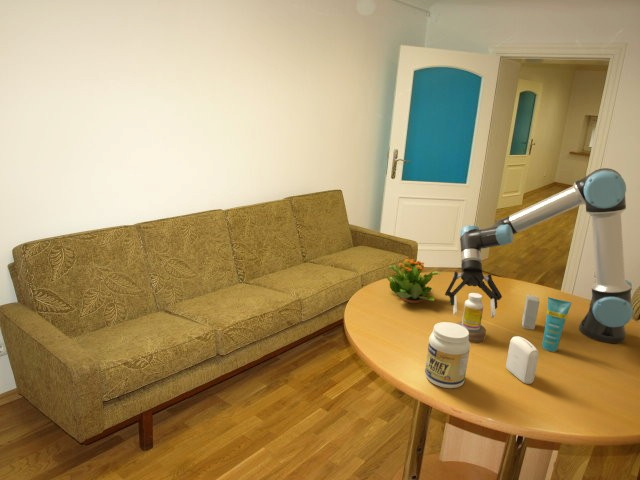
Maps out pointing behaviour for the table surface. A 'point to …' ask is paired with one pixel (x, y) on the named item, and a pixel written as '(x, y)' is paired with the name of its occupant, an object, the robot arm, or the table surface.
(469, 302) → the supplement bottle
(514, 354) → the photo printer
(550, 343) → the tube
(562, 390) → the table surface
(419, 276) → the potted flower
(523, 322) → the skincare box
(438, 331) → the supplement tub
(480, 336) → the walnut plinth
